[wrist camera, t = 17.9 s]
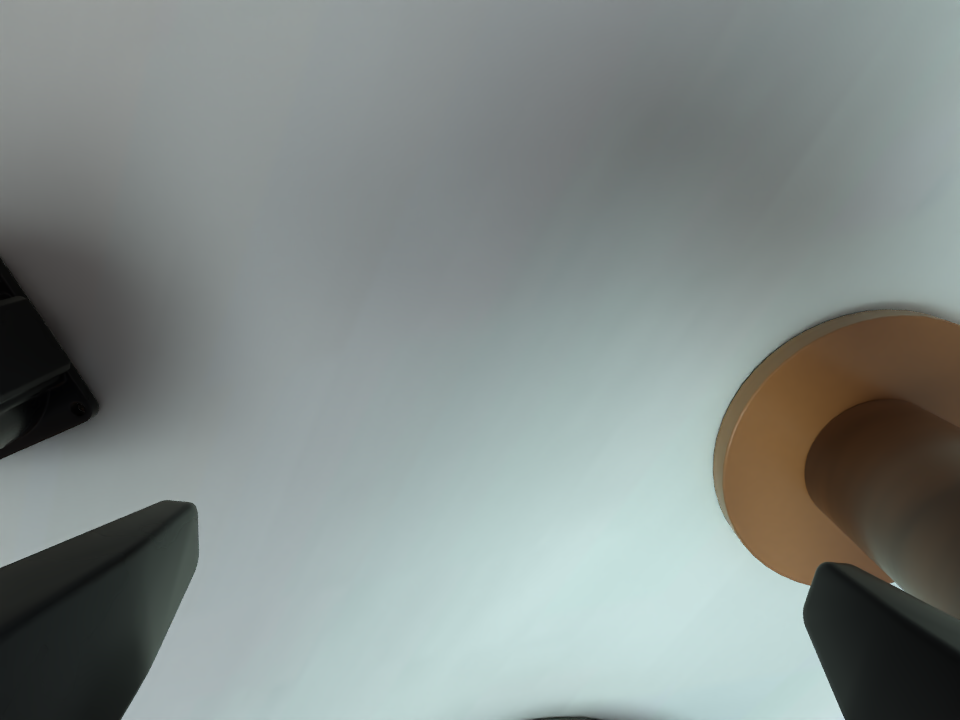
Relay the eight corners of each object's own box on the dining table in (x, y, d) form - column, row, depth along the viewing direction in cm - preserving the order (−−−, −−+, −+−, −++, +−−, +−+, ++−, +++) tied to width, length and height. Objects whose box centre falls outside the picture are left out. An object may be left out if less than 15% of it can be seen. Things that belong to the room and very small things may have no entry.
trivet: (755, 610, 25) (767, 627, 24) (674, 380, 22) (684, 390, 21) (1025, 515, 24) (1049, 530, 23) (980, 258, 20) (1005, 263, 20)
